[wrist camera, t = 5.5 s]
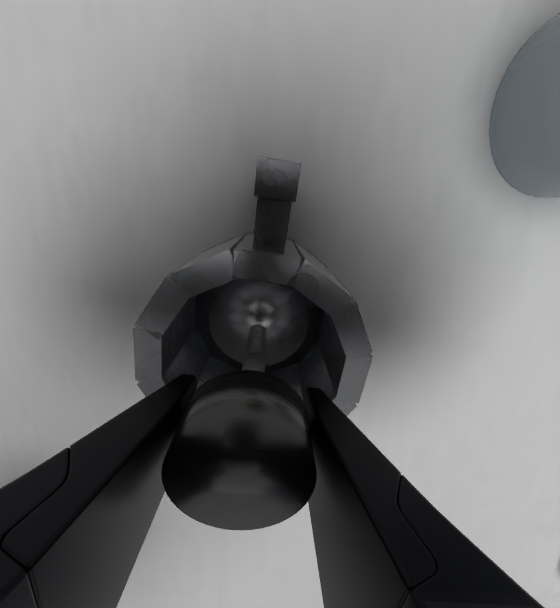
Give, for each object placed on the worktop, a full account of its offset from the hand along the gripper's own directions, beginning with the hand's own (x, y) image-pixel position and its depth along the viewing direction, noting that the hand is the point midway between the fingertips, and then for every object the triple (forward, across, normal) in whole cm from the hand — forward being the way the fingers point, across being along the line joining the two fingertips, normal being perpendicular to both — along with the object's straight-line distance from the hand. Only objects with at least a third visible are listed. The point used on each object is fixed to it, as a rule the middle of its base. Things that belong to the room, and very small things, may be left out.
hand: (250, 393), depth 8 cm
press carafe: (+6, 0, -1) cm, 6 cm away
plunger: (+6, 0, 0) cm, 6 cm away
